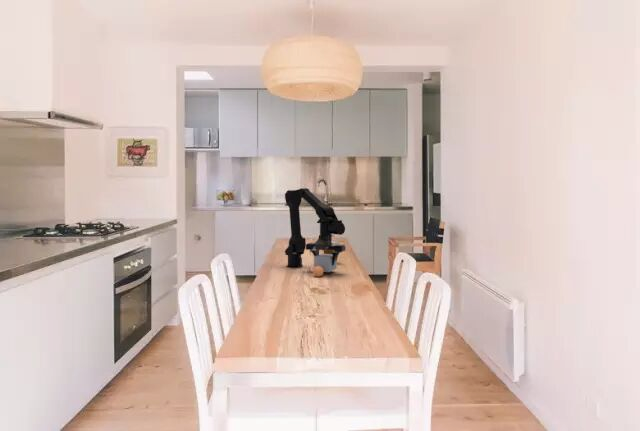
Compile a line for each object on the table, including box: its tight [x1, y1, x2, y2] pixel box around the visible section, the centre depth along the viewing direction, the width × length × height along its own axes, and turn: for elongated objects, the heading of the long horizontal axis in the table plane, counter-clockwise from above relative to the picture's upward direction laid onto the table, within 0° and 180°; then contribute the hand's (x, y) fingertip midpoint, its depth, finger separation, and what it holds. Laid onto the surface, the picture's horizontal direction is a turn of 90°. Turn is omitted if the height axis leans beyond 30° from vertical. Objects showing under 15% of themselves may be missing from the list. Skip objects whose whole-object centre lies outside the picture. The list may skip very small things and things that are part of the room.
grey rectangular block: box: [313, 253, 338, 273], centre depth 240 cm, size 8×10×7 cm
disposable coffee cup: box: [323, 240, 341, 265], centre depth 265 cm, size 10×10×12 cm
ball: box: [312, 266, 324, 278], centre depth 231 cm, size 5×5×5 cm
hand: (325, 264), depth 240 cm, fingers closed on grey rectangular block, 8 cm apart
